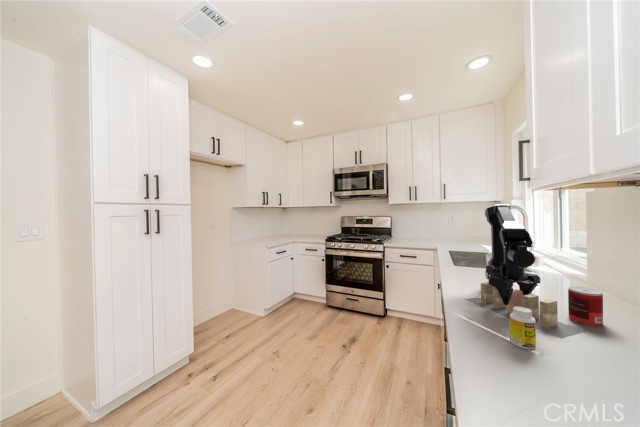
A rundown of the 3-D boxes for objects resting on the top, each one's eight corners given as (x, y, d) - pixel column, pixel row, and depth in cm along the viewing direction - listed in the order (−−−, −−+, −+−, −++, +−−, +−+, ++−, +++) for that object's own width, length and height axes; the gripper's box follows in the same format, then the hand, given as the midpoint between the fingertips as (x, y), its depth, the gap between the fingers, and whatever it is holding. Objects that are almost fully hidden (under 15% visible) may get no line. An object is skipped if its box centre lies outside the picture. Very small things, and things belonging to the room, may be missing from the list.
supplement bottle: (525, 351, 62) (525, 314, 62) (505, 340, 67) (504, 306, 67) (541, 348, 63) (540, 312, 63) (519, 338, 69) (519, 304, 69)
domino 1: (480, 302, 94) (480, 283, 94) (489, 300, 96) (489, 281, 96) (485, 304, 92) (485, 284, 92) (494, 302, 94) (494, 283, 94)
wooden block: (539, 325, 75) (539, 300, 75) (549, 322, 76) (549, 298, 76) (547, 328, 73) (547, 303, 73) (557, 325, 75) (557, 301, 74)
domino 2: (493, 307, 89) (492, 286, 89) (502, 305, 91) (502, 285, 91) (498, 309, 87) (498, 288, 87) (507, 307, 89) (507, 287, 89)
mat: (484, 296, 101) (484, 295, 101) (585, 332, 71) (585, 331, 71) (463, 300, 98) (463, 299, 98) (560, 339, 67) (560, 338, 67)
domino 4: (522, 318, 80) (522, 295, 80) (532, 316, 81) (531, 293, 81) (529, 321, 78) (528, 297, 78) (539, 318, 79) (538, 295, 79)
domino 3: (507, 312, 85) (506, 291, 85) (516, 310, 86) (516, 289, 86) (513, 314, 83) (512, 292, 83) (522, 312, 84) (522, 291, 84)
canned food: (600, 321, 78) (600, 289, 78) (606, 330, 72) (605, 295, 72) (567, 315, 83) (566, 284, 83) (570, 323, 77) (569, 290, 77)
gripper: (508, 255, 95) (508, 292, 95) (474, 258, 89) (475, 298, 89) (541, 260, 84) (541, 302, 84) (504, 265, 79) (505, 310, 79)
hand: (514, 303), depth 84 cm, fingers open, 9 cm apart
